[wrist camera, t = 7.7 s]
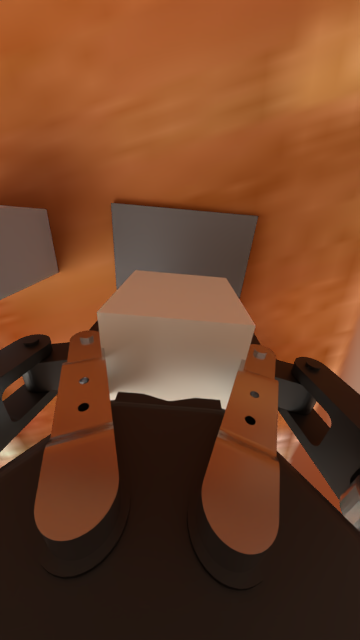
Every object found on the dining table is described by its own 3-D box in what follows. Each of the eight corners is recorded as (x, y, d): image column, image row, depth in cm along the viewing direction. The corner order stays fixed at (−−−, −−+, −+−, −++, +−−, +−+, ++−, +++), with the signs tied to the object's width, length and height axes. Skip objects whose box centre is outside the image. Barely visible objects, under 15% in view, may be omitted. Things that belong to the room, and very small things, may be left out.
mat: (112, 203, 14) (111, 202, 14) (256, 216, 14) (258, 216, 14) (121, 346, 20) (120, 348, 19) (225, 354, 20) (226, 357, 20)
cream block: (135, 270, 12) (96, 312, 7) (225, 277, 12) (255, 325, 7) (136, 345, 15) (109, 419, 10) (212, 351, 15) (226, 428, 10)
